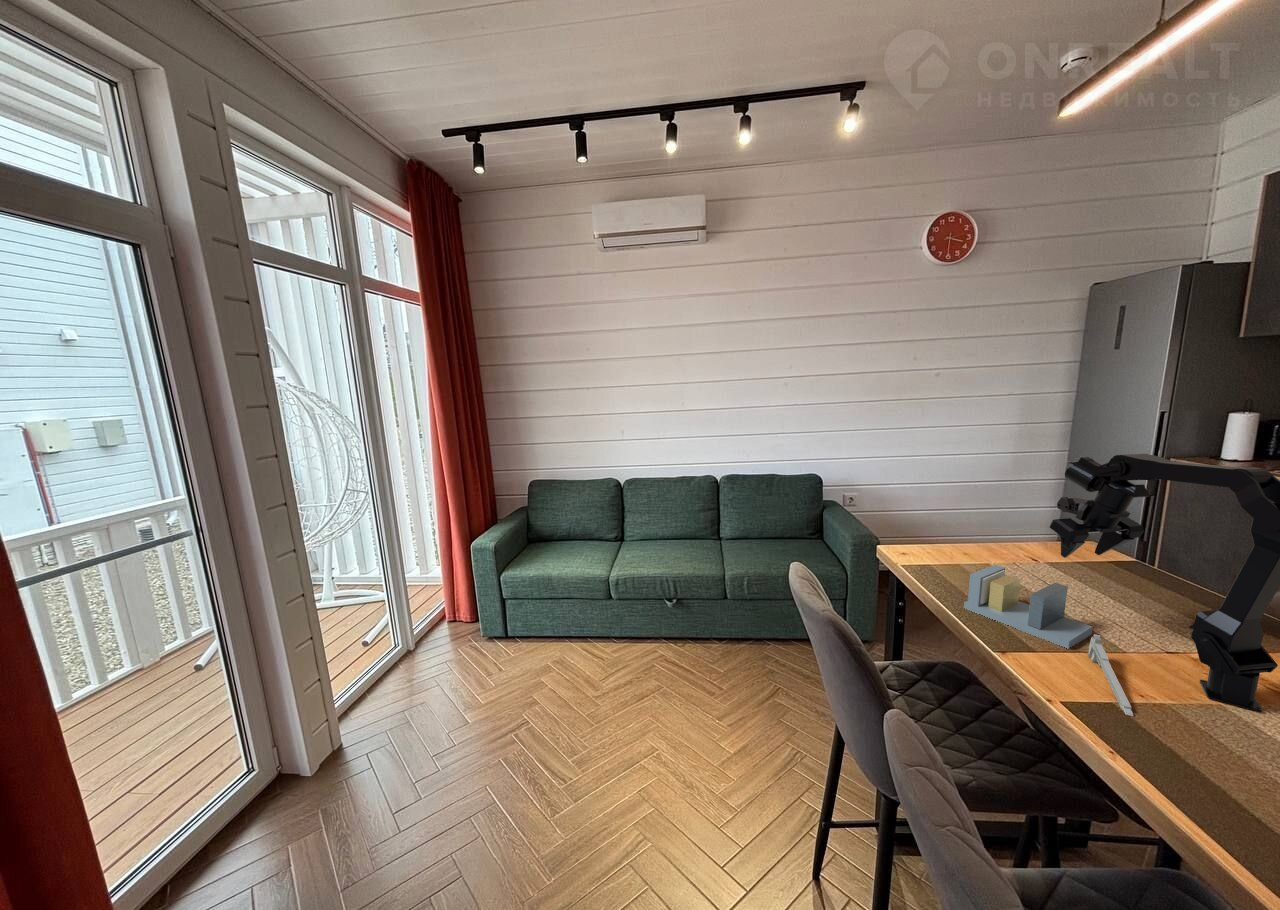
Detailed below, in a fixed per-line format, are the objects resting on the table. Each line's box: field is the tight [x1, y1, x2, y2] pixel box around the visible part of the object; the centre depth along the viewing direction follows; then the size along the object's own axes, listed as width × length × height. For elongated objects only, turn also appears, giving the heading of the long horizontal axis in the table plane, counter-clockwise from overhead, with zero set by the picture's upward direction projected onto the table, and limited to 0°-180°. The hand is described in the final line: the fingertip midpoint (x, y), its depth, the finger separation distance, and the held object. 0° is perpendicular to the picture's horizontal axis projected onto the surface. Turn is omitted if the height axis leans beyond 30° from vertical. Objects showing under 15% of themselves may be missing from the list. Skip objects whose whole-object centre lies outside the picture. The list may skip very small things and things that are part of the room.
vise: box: [963, 564, 1093, 650], centre depth 117 cm, size 22×12×10 cm, turn 28°
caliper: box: [1087, 634, 1134, 717], centre depth 94 cm, size 20×1×6 cm, turn 151°
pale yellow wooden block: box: [988, 574, 1021, 612], centre depth 121 cm, size 3×8×7 cm, turn 118°
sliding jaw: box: [1028, 582, 1068, 629], centre depth 113 cm, size 3×12×8 cm, turn 118°
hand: (1080, 555), depth 116 cm, fingers open, 9 cm apart
